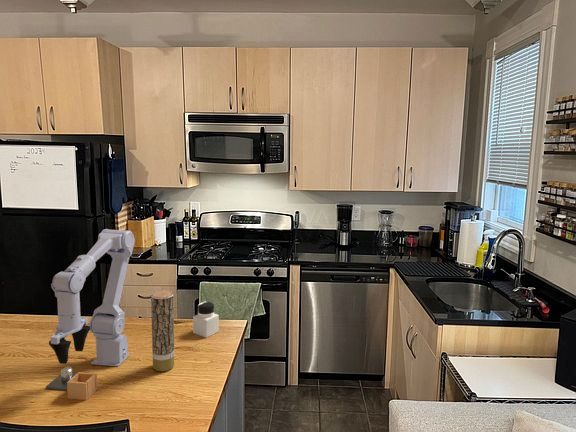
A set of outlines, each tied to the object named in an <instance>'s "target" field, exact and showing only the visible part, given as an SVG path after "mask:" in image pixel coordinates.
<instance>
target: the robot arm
mask: <svg viewBox="0 0 576 432" xmlns="http://www.w3.org/2000/svg"><path fill="white" fill-rule="evenodd" d="M135 242H136V239H135V236H134V234H133V232H132V231H131V230H120V229H109V228H105V229H102V231H101V232H100V233H99V234H98V235H97V241H96V243H95V244H94V245H93V246H92V247H91V248H90V250H89V251H88V252H87V253H86V254H81V255H78V256H76V259H75V260H74V261H73V262H72V263H71V264H70V265H69V266H68V267H67V268H66V269H65V270H64V271H60V272H58V273H56V274H55V275H54V276H53V278H52V283H51V284H50V285H51V287H50V288H51V289H52V290H53V292H54V297H56V299H57V317H58V325H56V326H55V332H54V334H53V335H51V337H50V340H48V346H49V347H51V349H52V351H54V352H55V353H54V354H55V356H56V359H57V360H58V364H64V365H66V364H67V363H68V361H69V351H70V346H71V343H72V340H73V348H74V350H75V352H83V351H84V349H85V343H86V339H87V337H88V334H89V332H90V333H92V334H93V337H95V348H96V349H95V350H96V357H95V359H94V360H93V361H91V362H90V364H91V365H95V366H96V365H97V366H110V367H119V366H120V365H121V364H122V363H124V361H125V360H126V359H127V358H128V357H129V356H130V354H129V344H128V343H129V342H128V340H129V339H128V337H127V335H124V334H122V332H124V329H125V323H126V322H125V316H126V313H125V312H124V310H122V309H121V307H120V301H121V297H122V293H123V290H124V289H123V288H124V285H125V280H126V274H127V270H128V266H129V261H130V257H131V256H132V255H133V250H134V247H135V246H134V245H135ZM105 254H107V255H110V257H111V259H112V260H111V265H110V268H109V272H108V277H107V282H106V286H105V287H106V288H105V291H104V295H103V299H102V304H101V305H100V306H98V307H96V308H95V309H94V311H93V314H92V317H91V318H90V320H88V317H81V301H80V300H81V299H80V297H81V296H80V292H81V290H82V289H83V287H84V284H85V282H86V280H87V279H86V278H87V277H89V275H90V274H91V273H92V272H93V271H94V270H95V268H96V266H97V265H96V262H97V261H98V260H100V259H101V258H102V257H103V256H104V255H105ZM88 323H89V324H88ZM70 335H71V336H72V340H67V339H66V337H68V336H70Z"/></svg>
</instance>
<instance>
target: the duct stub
mask: <svg viewBox="0 0 576 432" xmlns="http://www.w3.org/2000/svg"><path fill="white" fill-rule="evenodd" d="M77 373H78V372H77ZM77 373H75V372H73V368H72V366H65V367H63V368H61V369H60V374H59V375H57V377H55V378H54V379H52V380H51V381H50V382H49V383H48V384H47V385H45V389H47V390H58V391H67V382H68V381H69V380H70V379H71V378H72V377H74V376H75V375H76V374H77Z"/></svg>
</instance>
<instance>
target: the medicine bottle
mask: <svg viewBox="0 0 576 432" xmlns="http://www.w3.org/2000/svg"><path fill="white" fill-rule="evenodd" d="M214 311H215V304H214V303H213V302H210V301H202V302H200V303H199V304H198V305H197V314H195V315H193V316H192V333H193V335H194V334H195V335H197V336H199V337H203V338H209V337H211V336H212V335H214V334H217V333H218V332H219V331H220V329H219V327H220V325H219V324H220V323H219V322H220V320H219V317H220V316H219V314H217V313H215V312H214Z"/></svg>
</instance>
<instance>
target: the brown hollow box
mask: <svg viewBox="0 0 576 432" xmlns="http://www.w3.org/2000/svg"><path fill="white" fill-rule="evenodd" d="M97 374H98V373H95V372H93V373H92V372H83V371H82V372H80V371H78V372H77V374H76V375H75V376H74V377H72V378H71V379H70V380H69V381H68V382H67V390H66V392H67V399H68V400H80V401H87V400H88V399H90V398H91V397H92V395H93V394H95V392H96V391H97V390H98V375H97Z"/></svg>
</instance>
